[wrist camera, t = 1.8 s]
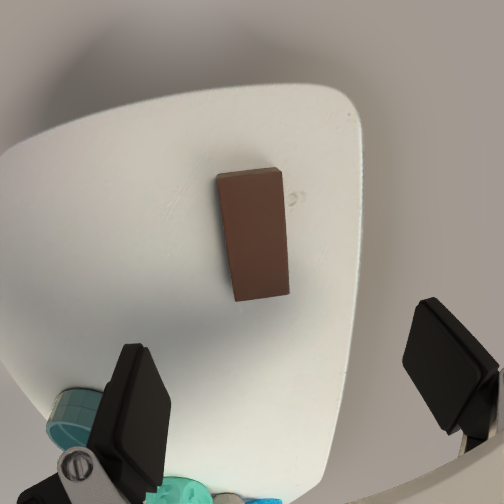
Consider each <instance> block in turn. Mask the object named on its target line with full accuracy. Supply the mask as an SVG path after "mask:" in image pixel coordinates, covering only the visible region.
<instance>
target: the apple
mask: <svg viewBox="0 0 504 504" xmlns="http://www.w3.org/2000/svg"><path fill="white" fill-rule="evenodd" d="M212 500H213V504H245V503H244V502H243V500H242V499H241V498H240V497H238V496H237V495H235V494H219V495H217V496H215V497H214V498H213V499H212Z"/></svg>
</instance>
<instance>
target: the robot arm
mask: <svg viewBox="0 0 504 504" xmlns="http://www.w3.org/2000/svg"><path fill="white" fill-rule="evenodd" d="M402 363H403V366H404V368H405V370H406V371H407V373H408V375H409V376H410V378H411V379H412V381H413V383H414V384H415V386H416V387H417V389H418V391H419V392H420V394H421V395H422V397H423V399H424V401H425V402H426V404H427V406H428V407H429V409H430V411H431V412H432V414H433V415H434V417H435V419H436V421H437V423H438V424H439V426H440V427H441V429H442V430H444V431H446V432H447V434H448V435H451V434H453V433H455V432H457V431H459V430H460V429H461V430H462V431H463V438H462V442H461V447H460V452H459V456H458V458H457V459H455V460H453V461H451V462H449V463H447V464H445V465H443V466H441V467H439V468H438V469H436V470H434V471H431V472H429V473H427V474H425V475H423V476H421V477H418V478H416V479H414V480H412V481H409V482H407V483H404V484H402V485H400V486H397V487H394V488H392V489H389V490H387V491H384V492H381V493H378V494H375V495H373V496H369V497H367V498H363V499H360V500H357V501H354V502H350V503H346V504H504V368H503V369H502V370H501V371H500V372H499V371H498V368H499V364H498V363H497V362H496V361H495V359H493V357H492V356H491V355H490V354H489V353H488V352H487V351H486V349H485V348H484V347H483V346H482V345H481V344H480V343H479V342H478V340H477V339H476V338H475V337H474V336H473V335H472V334H471V333H470V332H469V331H468V330H467V329H466V328H465V327H464V326H463V324H462V323H461V322H460V321H459V320H458V319H456V317H455V316H454V315H453V314H452V313H451V312H450V311H449V310H448V309H447V308H446V307H445V306H444V305H443V304H442V303H441V302H440V301H439V300H438V299H437V298H435V297H432V298H428V299H425V300H421V301H420V302H419V304H418V305H417V306H416V308H415V312H414V317H413V321H412V325H411V329H410V333H409V337H408V341H407V345H406V348H405V352H404V355H403V359H402ZM170 411H171V400H170V396H169V394H168V392H167V390H166V388H165V386H164V384H163V381H162V379H161V377H160V375H159V372H158V370H157V368H156V366H155V363H154V361H153V359H152V356H151V354H150V351H149V349H148V348H147V347H143V345H142V344H141V343H135V344H125V345H124V346H123V348H122V351H121V353H120V356H119V359H118V361H117V364H116V367H115V370H114V372H113V375H112V378H111V381H110V382H108V383H107V384H106V386H105V389H104V392H103V395H102V398H101V401H100V403H99V406H98V409H97V412H96V416H95V419H94V422H93V425H92V428H91V431H90V435H89V438H88V441H87V445H86V448H85V447H82V446H76V447H72V448H69V449H67V450H66V451H64V452H63V453H62V455H61V456H60V458H59V460H58V462H57V471H58V472H57V473H55V474H54V475H52V476H50V477H48V478H47V479H45V480H43V481H41V482H39V483H38V484H36V485H34V486H32V487H30V488H28V489H26V490H25V491H24V492H22V493H21V494H20V496H19V497H18V500H17V504H146V502H145V500H146V492H147V493H157V488H158V487H160V486H162V483H163V473H164V463H165V453H166V444H167V435H168V427H169V419H170Z"/></svg>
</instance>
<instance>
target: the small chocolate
mask: <svg viewBox="0 0 504 504" xmlns="http://www.w3.org/2000/svg"><path fill="white" fill-rule="evenodd" d="M217 184H218V191H219V198H220V206H221V213H222V220H223V226H224V233H225V240H226V247H227V253H228V260H229V266H230V273H231V279H232V285H233V292H234V298H235V301H236V302H238V301H245V300H253V299H260V298H267V297H274V296H281V295H288V294H289V293H290V292H289V271H288V253H287V236H286V221H285V207H284V193H283V180H282V172H281V171H280V170H279V169H277V168H276V167H273V168H264V169H254V170H246V171H237V172H230V173H222V174H218V177H217Z"/></svg>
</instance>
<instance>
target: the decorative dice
mask: <svg viewBox="0 0 504 504" xmlns="http://www.w3.org/2000/svg"><path fill="white" fill-rule="evenodd" d="M145 502H146V504H213V500H212V497H211V495H210V493H209V491H208V490H207V489H206V488H205V487H204V486H203V485H202V484H201V483H199V482H197V481H194V480H190V479H185V478H177V477H166V478H163V483H162V486H160V487H158V488H157V493H147V494H146V500H145Z"/></svg>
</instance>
